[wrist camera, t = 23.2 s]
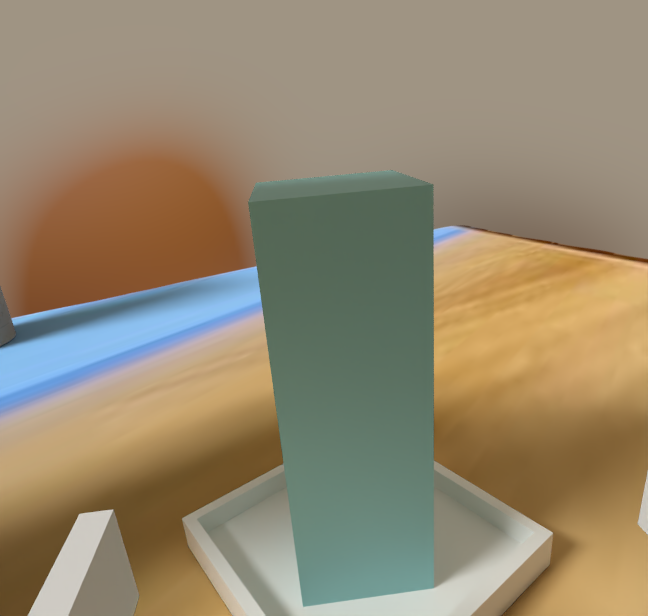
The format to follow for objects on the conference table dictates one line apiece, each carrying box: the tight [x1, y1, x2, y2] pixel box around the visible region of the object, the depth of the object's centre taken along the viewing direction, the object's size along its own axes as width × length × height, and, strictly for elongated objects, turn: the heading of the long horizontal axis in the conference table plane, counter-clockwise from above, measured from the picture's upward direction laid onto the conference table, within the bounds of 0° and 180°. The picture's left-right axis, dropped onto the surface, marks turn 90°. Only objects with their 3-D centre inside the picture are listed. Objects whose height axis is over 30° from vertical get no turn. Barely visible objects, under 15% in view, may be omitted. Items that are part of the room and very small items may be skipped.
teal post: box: [248, 170, 434, 607], centre depth 21 cm, size 6×6×18 cm
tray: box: [182, 461, 553, 616], centre depth 25 cm, size 13×13×2 cm
